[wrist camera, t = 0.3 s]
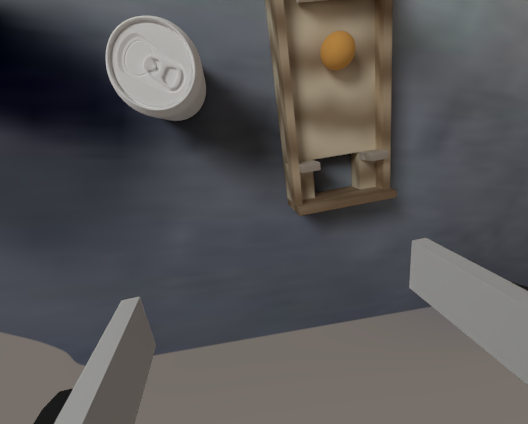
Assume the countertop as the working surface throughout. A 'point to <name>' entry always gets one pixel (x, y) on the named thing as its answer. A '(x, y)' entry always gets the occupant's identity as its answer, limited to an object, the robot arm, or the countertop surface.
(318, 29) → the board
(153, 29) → the beverage can
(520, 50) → the countertop surface
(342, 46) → the ball
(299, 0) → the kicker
